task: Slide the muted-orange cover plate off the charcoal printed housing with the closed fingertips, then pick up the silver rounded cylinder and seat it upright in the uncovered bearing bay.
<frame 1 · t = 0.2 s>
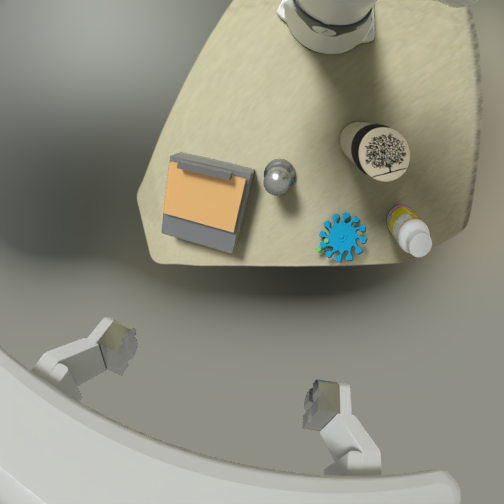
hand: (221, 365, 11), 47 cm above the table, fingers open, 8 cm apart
travel mug: (359, 141, 48), on the table
silver rounded cylinder: (280, 173, 53), on the table
lid: (200, 195, 51), point 7 cm above the table, slide at 0.0 cm
supplement bottle: (399, 218, 53), on the table
housing: (209, 198, 58), on the table
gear: (338, 230, 57), on the table
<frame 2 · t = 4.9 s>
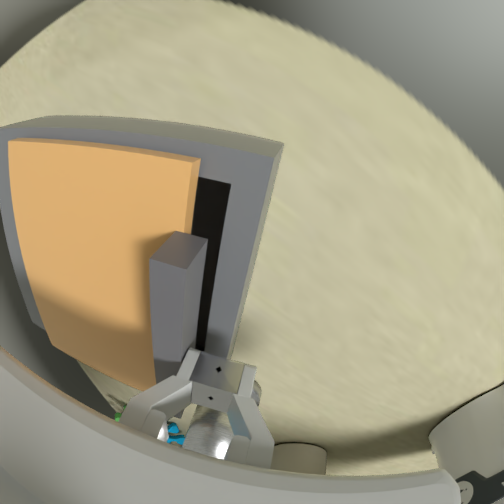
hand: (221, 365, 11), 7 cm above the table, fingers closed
travel mug: (297, 450, 30), on the table
silver rounded cylinder: (229, 387, 24), on the table
lid: (84, 304, 12), point 7 cm above the table, slide at 1.5 cm, touching gripper
housing: (130, 239, 18), on the table
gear: (156, 419, 32), on the table
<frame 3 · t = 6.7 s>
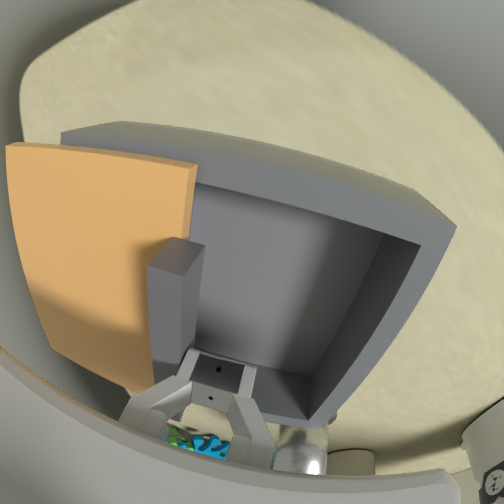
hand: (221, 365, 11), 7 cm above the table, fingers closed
travel mug: (346, 456, 29), on the table
silver rounded cylinder: (305, 406, 23), on the table
lid: (82, 308, 12), point 7 cm above the table, slide at 9.0 cm, touching gripper
housing: (234, 273, 17), on the table
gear: (206, 438, 31), on the table
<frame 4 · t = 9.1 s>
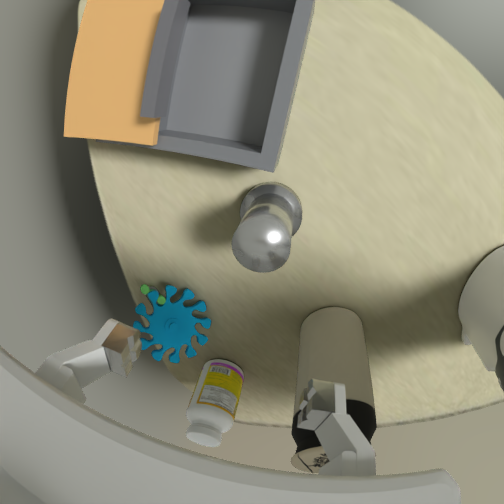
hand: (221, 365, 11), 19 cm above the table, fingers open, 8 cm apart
travel mug: (331, 328, 34), on the table
silver rounded cylinder: (272, 211, 28), on the table
lid: (112, 57, 16), point 7 cm above the table, slide at 9.0 cm
supplement bottle: (224, 369, 41), on the table
housing: (208, 67, 22), on the table
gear: (180, 302, 36), on the table
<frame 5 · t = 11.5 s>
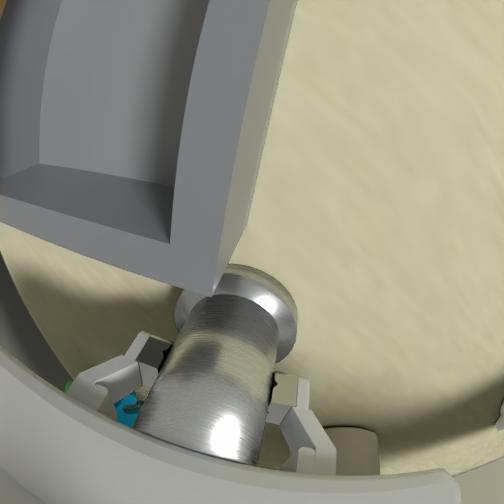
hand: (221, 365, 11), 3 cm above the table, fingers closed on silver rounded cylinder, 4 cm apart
travel mug: (334, 440, 20), on the table
silver rounded cylinder: (238, 314, 14), on the table, touching gripper
housing: (101, 31, 8), on the table
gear: (125, 396, 22), on the table
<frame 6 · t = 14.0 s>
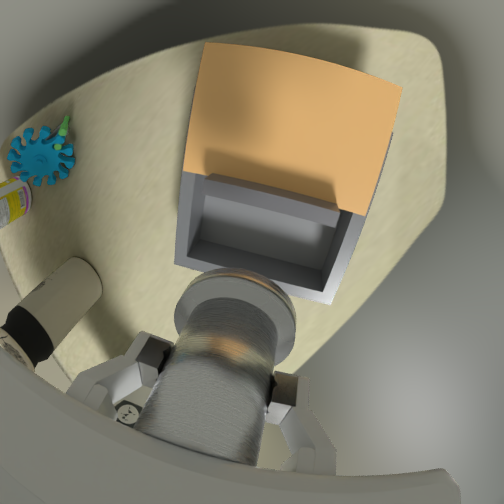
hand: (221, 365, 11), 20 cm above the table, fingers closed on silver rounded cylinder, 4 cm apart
travel mug: (85, 277, 39), on the table
silver rounded cylinder: (237, 317, 14), point 16 cm above the table, touching gripper
lid: (287, 128, 18), point 7 cm above the table, slide at 9.0 cm
supplement bottle: (23, 193, 34), on the table
housing: (276, 187, 27), on the table
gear: (62, 148, 29), on the table
when the fingers open (6 cm above the table, at t = 16.7 s): silver rounded cylinder drops 2 cm, resting on housing.
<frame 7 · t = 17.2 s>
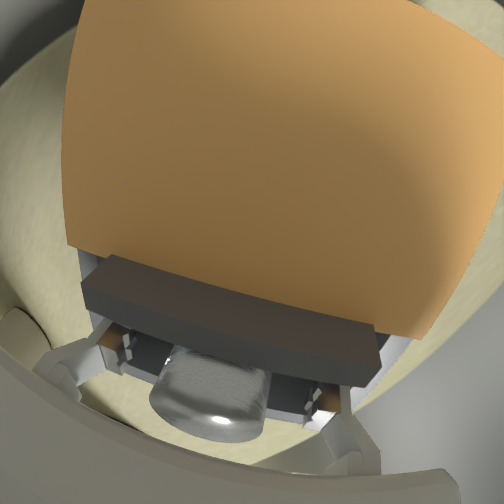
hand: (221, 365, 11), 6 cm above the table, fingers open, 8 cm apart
travel mug: (32, 329, 27), on the table
silver rounded cylinder: (244, 295, 16), point 1 cm above the table, touching housing
lid: (265, 156, 7), point 7 cm above the table, slide at 9.0 cm
housing: (255, 250, 16), on the table
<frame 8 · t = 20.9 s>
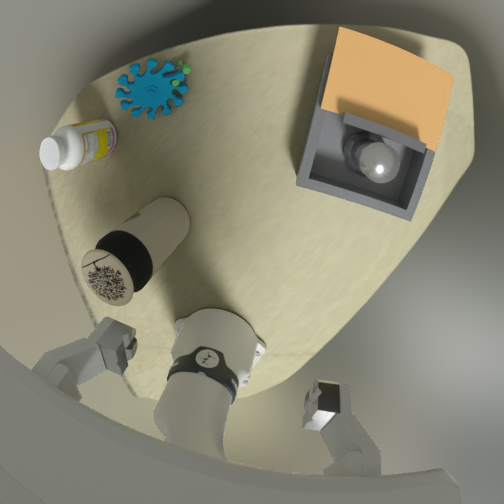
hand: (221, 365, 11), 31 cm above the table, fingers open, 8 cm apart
travel mug: (168, 219, 44), on the table
silver rounded cylinder: (364, 153, 33), point 1 cm above the table, touching housing
lid: (394, 90, 24), point 7 cm above the table, slide at 9.0 cm
supplement bottle: (104, 137, 39), on the table
housing: (368, 135, 33), on the table
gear: (167, 89, 34), on the table
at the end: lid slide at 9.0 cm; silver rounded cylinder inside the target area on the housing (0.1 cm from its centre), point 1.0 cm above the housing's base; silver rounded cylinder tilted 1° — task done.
